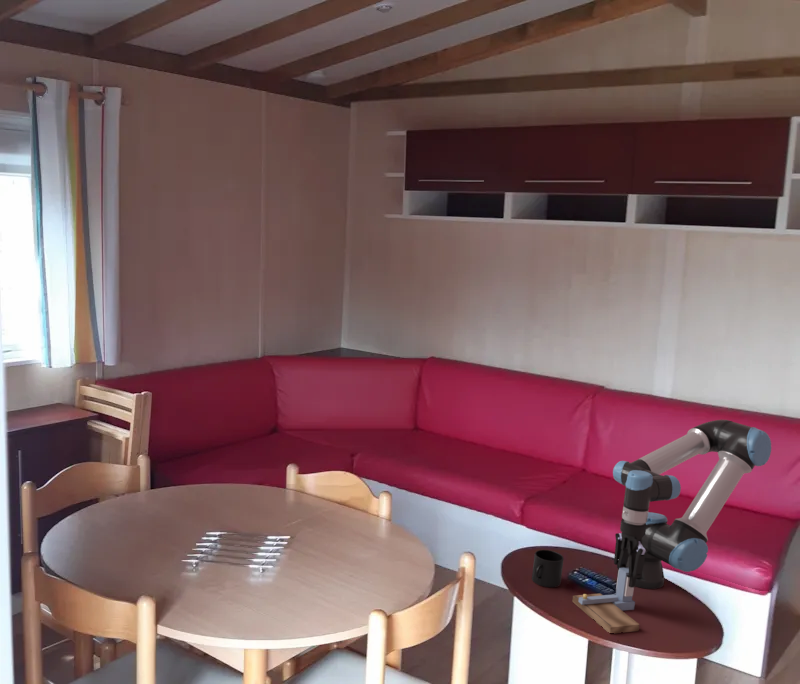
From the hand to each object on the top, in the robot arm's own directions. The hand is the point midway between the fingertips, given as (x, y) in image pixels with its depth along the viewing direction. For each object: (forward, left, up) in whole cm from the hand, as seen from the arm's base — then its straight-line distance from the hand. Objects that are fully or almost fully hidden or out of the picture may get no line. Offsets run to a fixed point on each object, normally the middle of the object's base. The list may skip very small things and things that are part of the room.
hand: (624, 592), depth 242 cm
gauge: (+7, 0, -5) cm, 8 cm away
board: (+10, +4, -5) cm, 12 cm away
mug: (+17, -20, -5) cm, 26 cm away
